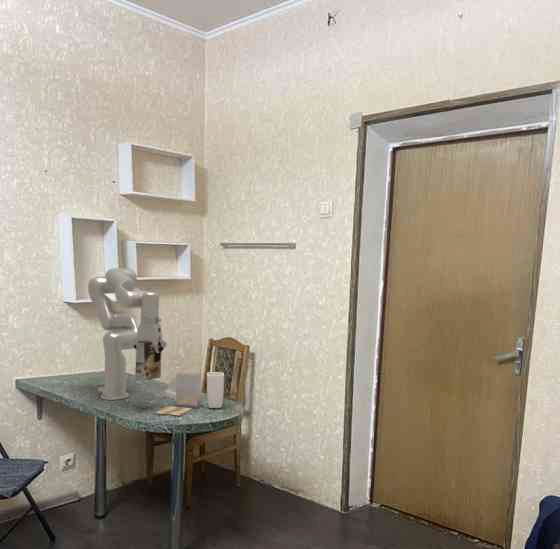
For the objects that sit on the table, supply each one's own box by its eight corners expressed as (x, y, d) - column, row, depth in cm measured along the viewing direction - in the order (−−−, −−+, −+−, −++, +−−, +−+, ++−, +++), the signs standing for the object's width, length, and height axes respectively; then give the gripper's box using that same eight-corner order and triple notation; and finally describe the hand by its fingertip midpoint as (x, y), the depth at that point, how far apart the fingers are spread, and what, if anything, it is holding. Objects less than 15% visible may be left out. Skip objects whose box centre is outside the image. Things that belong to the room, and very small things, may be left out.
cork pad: (153, 414, 202) (153, 412, 202) (166, 407, 213) (166, 405, 213) (179, 416, 199) (179, 415, 199) (191, 409, 209) (191, 408, 209)
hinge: (163, 394, 236) (169, 374, 238) (171, 396, 239) (177, 376, 241) (181, 401, 224) (188, 380, 226) (189, 403, 227) (196, 382, 229)
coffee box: (144, 381, 204) (145, 343, 204) (134, 378, 208) (135, 341, 208) (161, 377, 212) (162, 341, 212) (151, 375, 215) (152, 339, 215)
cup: (206, 405, 217) (206, 372, 217) (222, 405, 218) (223, 372, 218) (206, 409, 210) (207, 375, 210) (223, 409, 211) (224, 375, 211)
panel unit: (172, 406, 214) (173, 374, 214) (178, 403, 220) (179, 371, 220) (197, 409, 211) (198, 375, 211) (203, 405, 216) (203, 373, 217)
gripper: (171, 320, 211) (170, 361, 211) (136, 318, 216) (135, 358, 216) (163, 322, 204) (162, 364, 204) (127, 320, 208) (126, 361, 208)
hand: (148, 360), depth 210 cm, fingers closed on coffee box, 7 cm apart
